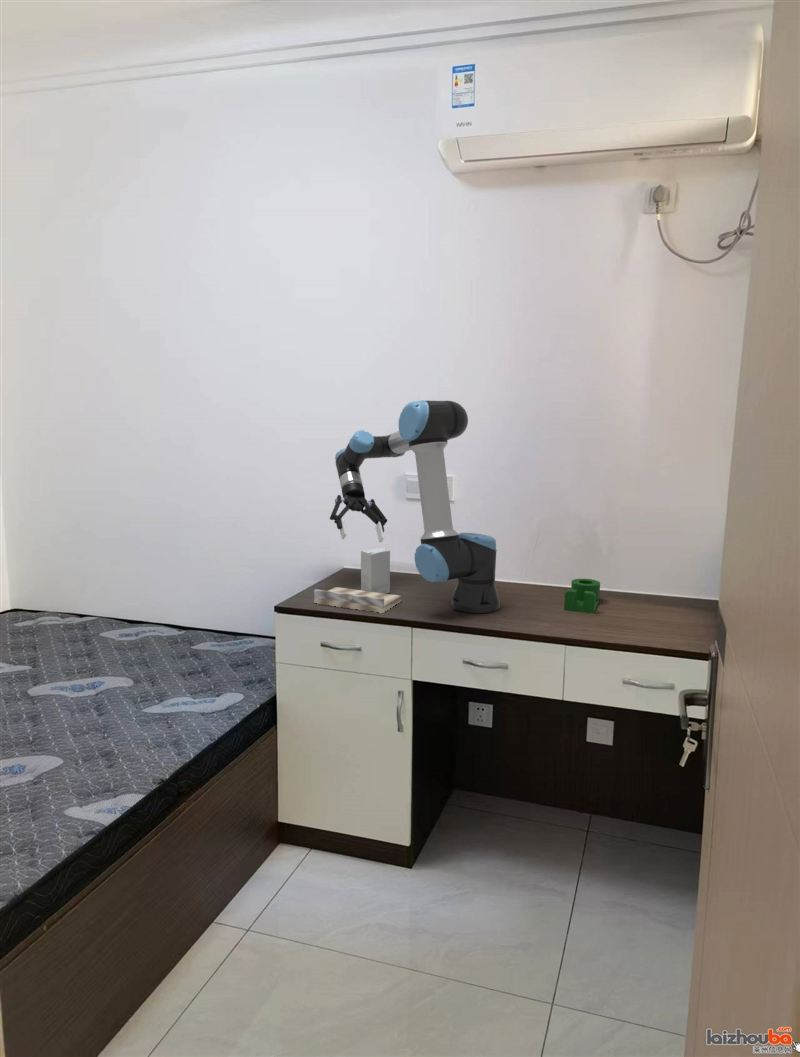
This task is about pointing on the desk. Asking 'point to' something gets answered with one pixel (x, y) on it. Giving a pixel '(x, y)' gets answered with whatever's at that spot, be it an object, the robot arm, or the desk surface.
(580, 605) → the slotted cylinder bracket
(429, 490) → the robot arm
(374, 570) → the skincare box
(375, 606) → the shelf board
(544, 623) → the desk surface
